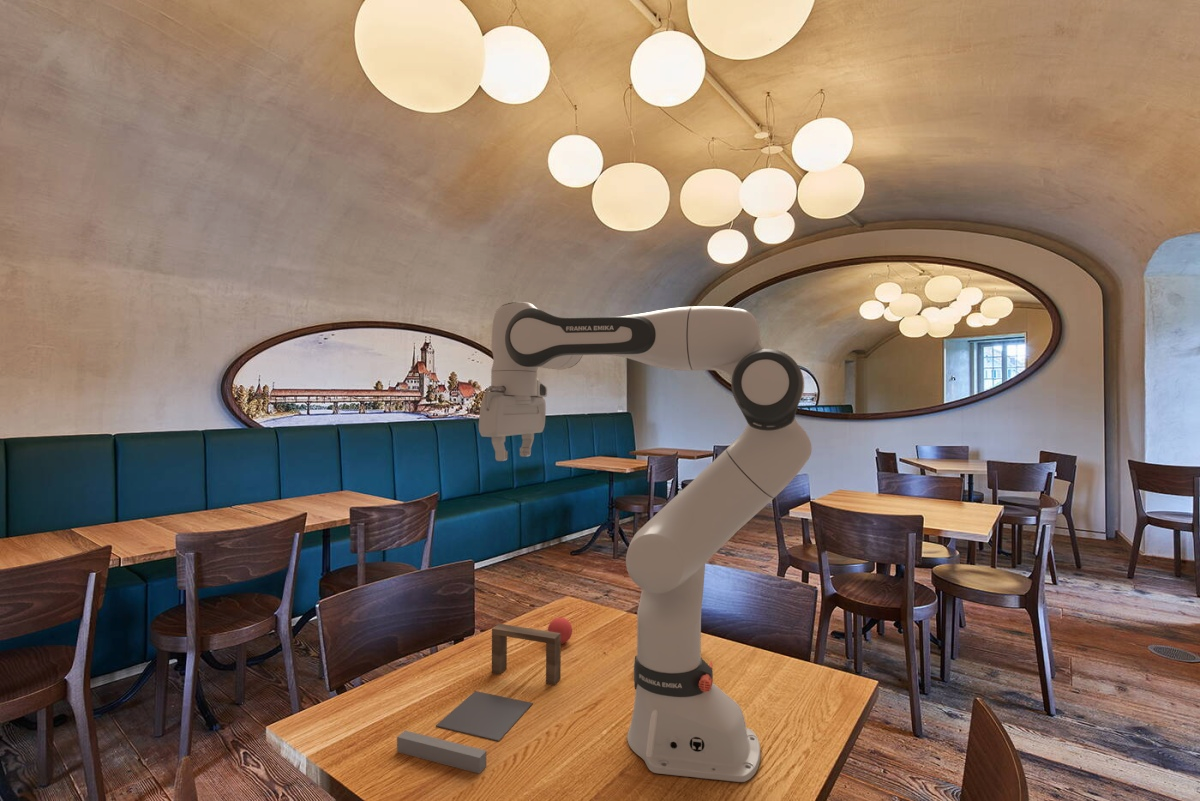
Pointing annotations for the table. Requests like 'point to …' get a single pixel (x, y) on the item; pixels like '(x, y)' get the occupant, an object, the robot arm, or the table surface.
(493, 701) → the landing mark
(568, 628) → the ball
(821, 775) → the table surface
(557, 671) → the bridge
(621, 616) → the table surface
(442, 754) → the wall
